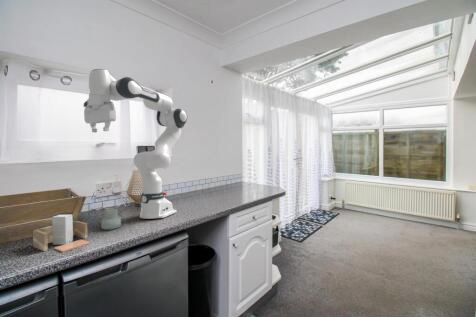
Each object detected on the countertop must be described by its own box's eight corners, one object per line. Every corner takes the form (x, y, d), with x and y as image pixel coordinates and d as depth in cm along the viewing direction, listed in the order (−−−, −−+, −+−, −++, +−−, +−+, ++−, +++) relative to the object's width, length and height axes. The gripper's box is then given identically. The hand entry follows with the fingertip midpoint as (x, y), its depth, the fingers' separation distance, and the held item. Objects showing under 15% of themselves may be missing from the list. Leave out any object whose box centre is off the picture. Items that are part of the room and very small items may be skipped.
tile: (80, 240, 100) (80, 239, 100) (89, 243, 97) (89, 242, 97) (54, 249, 92) (54, 247, 92) (63, 252, 88) (63, 250, 88)
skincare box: (73, 241, 100) (73, 214, 100) (65, 244, 96) (65, 217, 96) (60, 241, 100) (59, 214, 100) (51, 244, 96) (51, 216, 96)
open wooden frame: (75, 234, 108) (75, 220, 108) (87, 238, 103) (87, 223, 103) (33, 246, 94) (33, 230, 94) (44, 251, 89) (44, 234, 89)
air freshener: (103, 226, 121) (103, 208, 121) (121, 224, 124) (121, 206, 124) (100, 233, 111) (100, 212, 111) (119, 230, 114) (119, 211, 114)
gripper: (119, 101, 106) (119, 131, 106) (94, 106, 116) (94, 133, 116) (106, 98, 100) (106, 129, 101) (81, 104, 110) (81, 132, 110)
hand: (100, 131), depth 108 cm, fingers open, 8 cm apart
